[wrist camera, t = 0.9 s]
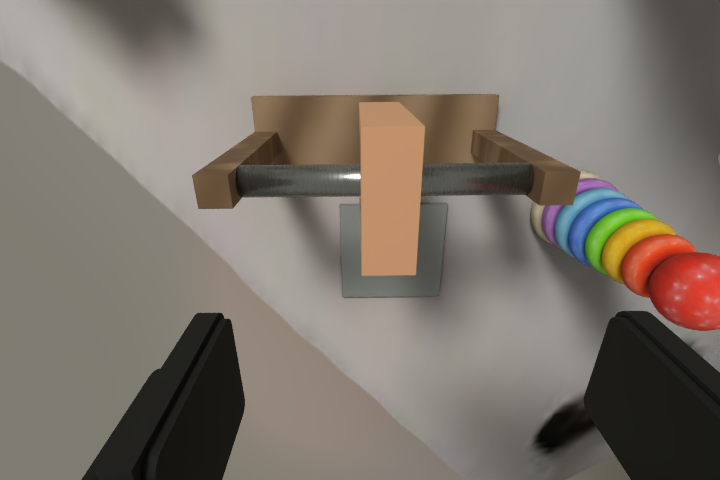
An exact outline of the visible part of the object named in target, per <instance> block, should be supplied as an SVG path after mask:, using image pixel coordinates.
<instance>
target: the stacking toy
mask: <svg viewBox="0 0 720 480" xmlns="http://www.w3.org/2000/svg"><path fill="white" fill-rule="evenodd" d="M580 172H581V174H580V178H579V182H578V187H577V191H576V195H575V199H574V203H573V205H549V206H539V205H538V204H537V203H535V202H534V203H533V205H532V210H531V220H532V224H533V227H534V229H535V231H536V232H537V234H538V235H539V236H540V237H541V238H542V239H543V240H545V241H546V242H548V243H550V244H553V245H554V246H556V247H557V248H559V249H562V250H563V251H564V252H565V253H566V254H568V255H569V256H571V257H573V258H576V259H577V260H578V261H579V262H581V263H583V264H584V265H587V266H589V267H593V268H594V269H596V270H597V271H599V272H600V273H603V274H605V275H609V276H610V277H611V278H612V279H614V280H615V281H617V282H619V283H622V284H625V285H626V286H627V287H628V288H629V289H630V290H631V291H632V292H634V293H635V294H637V295H640V296H643V297H648V298H650V299H651V301H652V303H653V305H654V306H655V308H656V309H657V310H658V312H659V313H660V314H661V315H662V316H664V317H665V318H666V319H667V320H669V321H671V322H672V323H674V324H676V325H678V326H681V327H684V328H688V329H692V330H700V331H708V330H716V329H720V257H719V256H716V255H712V254H708V253H699V252H697V251H696V249H695V247H694V246H693V245H692V244H691V243H690V242H689V241H688V240H686V239H684V238H682V237H680V236H677V234H676V233H675V231H674V230H673V229H672V228H671V227H670V226H669V225H667V224H666V223H664V222H662V221H659V220H658V219H657V218H656V217H655V216H654V215H653V214H651V213H650V212H648V211H645V210H643V209H642V208H641V207H640V206H639V205H638V204H636V203H635V202H633V201H631V200H629V199H628V198H627V197H626V196H625V195H624V194H622V193H620V192H619V191H618V190H617V189H616V188H615V187H614V186H613V185H612V184H610V183H609V182H606V181H605V180H604V179H602V178H601V177H599V176H598V175H596V174H593V173H591V172H586V171H580Z"/></svg>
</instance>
